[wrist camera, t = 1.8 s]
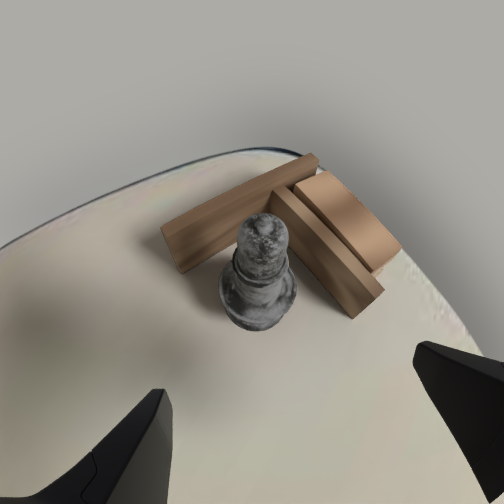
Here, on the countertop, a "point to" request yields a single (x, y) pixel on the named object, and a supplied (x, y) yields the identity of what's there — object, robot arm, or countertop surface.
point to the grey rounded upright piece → (258, 274)
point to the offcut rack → (298, 225)
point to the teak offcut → (348, 220)
